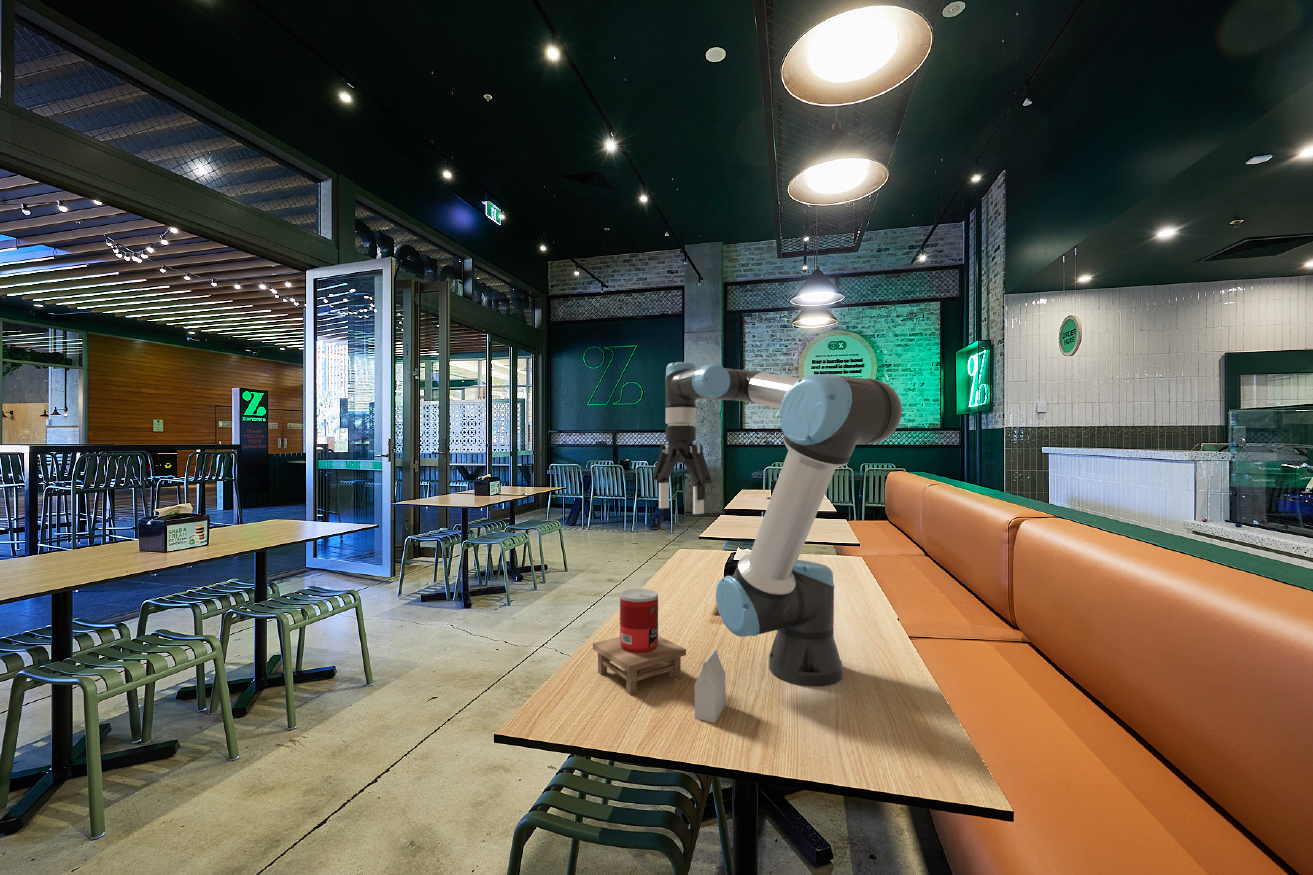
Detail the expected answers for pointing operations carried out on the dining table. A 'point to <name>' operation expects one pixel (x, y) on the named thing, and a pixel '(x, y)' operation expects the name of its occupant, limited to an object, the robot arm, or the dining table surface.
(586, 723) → the dining table surface
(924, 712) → the dining table surface
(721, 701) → the grey pointed block
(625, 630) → the canned food
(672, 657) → the stool
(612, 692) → the dining table surface
